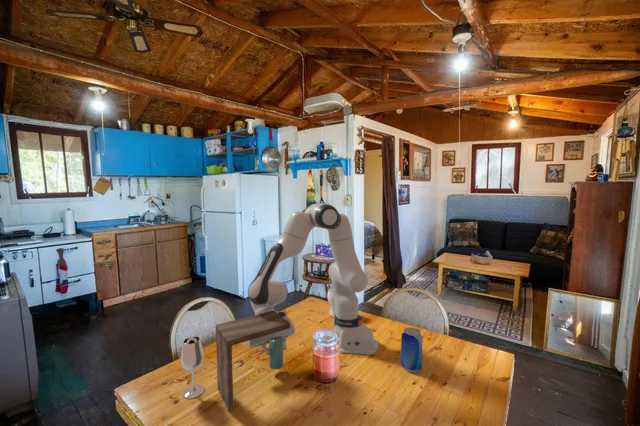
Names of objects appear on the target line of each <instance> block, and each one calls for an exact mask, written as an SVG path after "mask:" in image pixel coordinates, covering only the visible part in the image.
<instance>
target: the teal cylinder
mask: <svg viewBox="0 0 640 426" xmlns="http://www.w3.org/2000/svg"><path fill="white" fill-rule="evenodd" d="M268 345H269V346H268V349H270V351H271V354H270V355H268V356H269V357H268V358H269V365H268V366H269V368H270V369H272V370H280V369H282V368H283V366H284V350H283V338H282V337H281V336H278V337H274V338H271V339H269V343H268Z"/></svg>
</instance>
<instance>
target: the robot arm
mask: <svg viewBox="0 0 640 426" xmlns="http://www.w3.org/2000/svg"><path fill="white" fill-rule="evenodd" d="M315 227H316V228H319V229H321V228H322V229H323V230H324V229H326V230H327V232H328V238H329V239H328V240H329V245H330V249H331V250H330V251H331V255H332V258H333V259H334V262H332V263H331V264H330V265H329V267H328V275H329V277H330V280H331V284H332V288H333V290H334V295H335V316H334V317H333V322H334V323H333V324H334V329H333V331H335V332H337V333H338V334H339V336H340V351H339V352H340V353H342V354H352V355H353V354H356V355H357V354H358V355H374V354H376V353H377V352H378V350H379V347H380V346H379V341H378V339H377V338H376V337H375V336H374V333H373V330H372V329H371V328H369V327H368V326H367V325H366V324H365V323H363V315H360V314H359V298H358V296H357V294H356V293H361V292H363V291H365V290H366V288H367V285H368V281H369V280H368V276H367V274H366V273H365V271H364V270H363V268H362V266H361V263H360V261H359V258H358V255H357V253H356V248H355V242H354V236H353V231H352V227H351V223H350V220H349V218H348V216H347V215H346V214H343V213H339V211H338V210H337V208H336V207H335V206H333V205H332V204H327V203H324V202H319V203H318V202H313V203H310V204H309V205H307V206H306V208H304V210H302V211H300V210H299V211H293V213H292V214H291V215H290V217H289V219H288V220H287V222H286V224H285V227H284V229H283V232H282V234H281V236H280V238H279V239H278V240H277V242H276V243H275V244H274V245H272V246H271V248H270V249H269V251H268V253H267V255H266V257H265V259H264V260H263V263H261V266H260V268H259V270H258V271H257V274H256V275H255V277H254V278H253V280H252V281H251V282H250V284H249V287H248V289H247V296H248V299H249V300H250V304H251V307H252V310H253V312H254V315H258V314H262V313H266V312H270V311H275V312H277V313H278V314H279V315H280V316H282V317H283V318H284V319H285V320H287V321H288V322H289V323H290V328H289V329H286V330H283V331H279V332H276V333H273V334H269V335H266V336H262V337H259V338H256V339H252V340H249V341H247V345H248V348H250V349H254V348H256V347H260V348H261V349H262V350H263V351H264V352H265V355H266V356H269V355H270V354H271V351H270V349H269V348H267V346H266V344H267V345H268V344H269V339H271V338H274V337H278V336H281V337H282V338H283V351H284V350H286V349H287V338H290V337H292V336H293V335H294V334H295V332H296V329H295V326H294V324H293V322H292V320H291V319H290V318H289V317H288V311H287V312H286V311H283V310H282V311H280V310H275V306H278V305H280V304H282V303H284V302H285V301H286V300H287V297H288V294H289V290H288V286H287V284H285V282H283V281H279V280H278V281H277V280H272V278H273V276H274V273H276V270H277V268H278V266H279V264H280V263H281V262H283V261H284V260H287V259H289V258H293V257H296V256H298V255H300V254H301V252H303V250H304V249H305V247H306V244H307V240H308V238H309V234H310V233H311V231H312V229H314V228H315Z"/></svg>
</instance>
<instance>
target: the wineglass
mask: <svg viewBox="0 0 640 426" xmlns="http://www.w3.org/2000/svg"><path fill="white" fill-rule="evenodd" d="M201 342H202V341H201V339H200V337H199V336H189V337H187V338H185V339H184V340H183V341H182V347H181V351H180V352H181V353H180V365H181V367H182V369H184V370H185V371H187V372H190V373H191V383H192V385H189V386H188V387H186V388H185V389H184V390H183V391H182V393H181V394H182V395H181V396H182V397H183V398H185V399H187V400H190V399H191V400H193V399H196V398H198V397H199V396H201V395H202V394H203V393H204V392H205V387H204V385H202V384H198V383H197V384H195V371H197V370H198V369H199V368H201V366H202V364H203V362H204V359H205V358H204V355H205V354H204V350H203V349H204V348H203V346H202V343H201Z"/></svg>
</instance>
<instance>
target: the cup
mask: <svg viewBox="0 0 640 426" xmlns="http://www.w3.org/2000/svg"><path fill="white" fill-rule="evenodd" d="M326 296H327V297H326V298H327V301H328V303H329V307H330V310H329V316H330V315H331V316H332V318H334V316H335V295H334V290H333V287H332V288H329V289H328V291H327V295H326ZM331 316H330V317H331Z"/></svg>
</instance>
